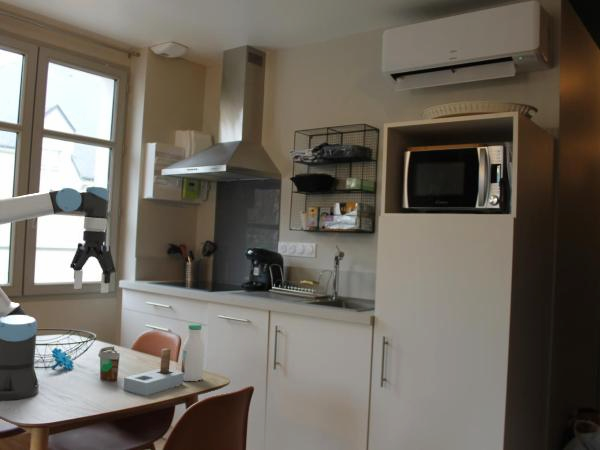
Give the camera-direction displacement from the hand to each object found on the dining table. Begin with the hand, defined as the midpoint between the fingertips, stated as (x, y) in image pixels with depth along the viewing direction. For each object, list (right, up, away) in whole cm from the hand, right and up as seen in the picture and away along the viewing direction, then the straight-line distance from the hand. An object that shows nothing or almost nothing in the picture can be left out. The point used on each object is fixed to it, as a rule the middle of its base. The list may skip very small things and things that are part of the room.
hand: (90, 290), depth 195 cm
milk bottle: (+34, -33, +7) cm, 48 cm away
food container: (+5, -31, +1) cm, 32 cm away
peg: (+26, -32, -1) cm, 42 cm away
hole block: (+24, -32, -6) cm, 40 cm away
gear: (-14, -30, +10) cm, 35 cm away
